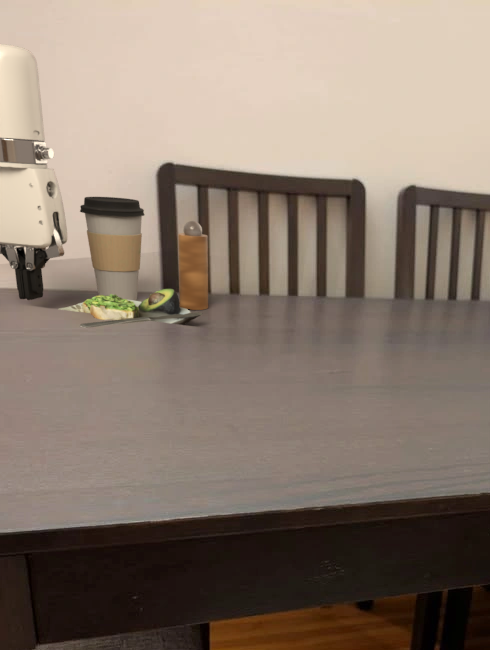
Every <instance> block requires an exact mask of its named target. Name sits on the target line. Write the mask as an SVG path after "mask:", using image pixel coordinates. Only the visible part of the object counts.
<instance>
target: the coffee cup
mask: <svg viewBox="0 0 490 650" xmlns="http://www.w3.org/2000/svg"><path fill="white" fill-rule="evenodd" d="M79 207H80V209H79V212H80V213H83V214H84V217H85V223H86V228H87V230H86V235H87V241H88V247H89V251H90V252H89V253H90V259H91V264H92V265H91V266H92V268H93V271H94V275H95V282H96V283H95V284H96V288H97V296H100V295H104V296H106V295H107V296H109V295H110V294H112V295H115V294H116V295H117V296H118V297H121V298H122V299H128V300H134V301H138V291H139V290H138V289H139V275H140V274H139V272H140V269H141V254H142V237H143V236H142V235H143V233H142V221H143V220H142V218H143V217H144V216H145V212H144V211H145V209H144V208H142V207H141V206H140V201H139V200H138V199H132V198H125V197H113V196H112V197H111V196H85V197H84V199H83V204H81V205H80V206H79Z"/></svg>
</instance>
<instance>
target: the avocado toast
mask: <svg viewBox="0 0 490 650" xmlns="http://www.w3.org/2000/svg"><path fill="white" fill-rule="evenodd" d="M59 310H61V311H68V312H76V313H85V314H90V315H91V316H93V318H95V319H97V320H100V321H94V322H85V323H81V324H79V327H80V328H87V329H88V328H97V327H105V326H112V325H113V326H114V325H123V324H131V323H132V324H133V323H143V322H157V323H165V324H172V325H179V326H185V325H186V324H188V323H189V322H191V321H193V320H195V319H196V318H198V317H201V316H202V315H203V313H202V312H199V311H196V312H191V310H188V309H185V308H182V307H180V297H179V294H178V293H177V292H176V290H175V289H173V288H162V289H158V290H157V291H155V292H153V293H149V296H148V297H146V298H145V299H143V300H142V301H139V300H136V301H134V300H128V299H122V298H121V297H118V296H117V295H116V294H115V295H112V294H110V295H109V296H107V295H106V296H104V295H100V296H99V295H95V296H93V297H91V298H87V299H86V300H84V301H82V302H79V303H77V304H74V305H70V306H67V307H60V308H59Z"/></svg>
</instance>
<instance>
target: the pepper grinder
mask: <svg viewBox="0 0 490 650" xmlns="http://www.w3.org/2000/svg"><path fill="white" fill-rule="evenodd" d="M177 243H178V245H177V246H178V248H177V249H178V250H177V251H178V287H179V289H178V290H179V291H178V292H179V294H178V297H179V302H180V306H179V307H182V308H185V309H190V310H189V311H203V310H207V309H209V236H208V235H207V234H203V227H202V226H201V224H200V223H199V222H197V221H195V220H189V221H187V222H186V223H185V224H184V226H183V232H180V233H178V234H177Z"/></svg>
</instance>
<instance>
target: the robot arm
mask: <svg viewBox="0 0 490 650" xmlns="http://www.w3.org/2000/svg"><path fill="white" fill-rule="evenodd" d="M39 77H40V76H39V67H38V62H37V59H36V57H35V55H34V53H32V52H31V51H30V50H29V49H27V48H25V47H21V46H17V45H11V44H5V43H0V255H2V256H3V257H4V258H5V259H6V260H7V261H8V263H9V266H10V268H11V269H13V270H14V274H15V282H16V289H17V291H18V298H19V299H20V300H28V301H33V300H36V299H40V298H43V296H44V280H43V273H42V272H43V271H42V269H44V268H45V267H46V264H47V263H48V262H49V261H50V259H54V258H60V257H64V255H65V250H64V248H63V245H65V244H66V243H67V242H68V228H67V221H66V213H65V208H64V203H63V197H62V192H61V189H60V185H59V183H58V179H57V174H56V172H55V169H54V168H50V167H49V168H48V163H49V162H48V160H53V159H54V158H55V151H54V149H53V148H52V147H48V146H47V142H46V138H45V128H44V117H43V108H42V97H41V88H40V78H39Z"/></svg>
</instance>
